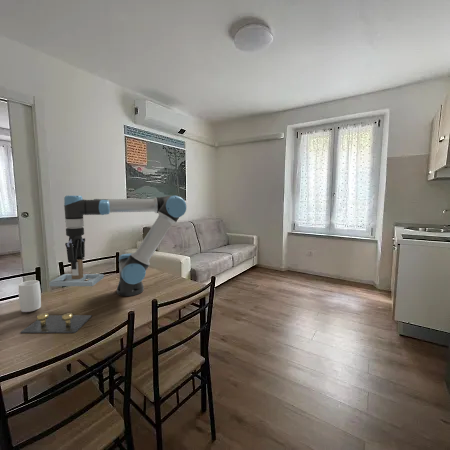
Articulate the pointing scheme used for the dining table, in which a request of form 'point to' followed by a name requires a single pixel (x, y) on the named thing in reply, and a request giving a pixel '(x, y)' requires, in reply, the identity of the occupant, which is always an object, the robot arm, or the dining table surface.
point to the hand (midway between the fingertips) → (77, 273)
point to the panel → (75, 281)
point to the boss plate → (57, 323)
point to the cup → (29, 295)
